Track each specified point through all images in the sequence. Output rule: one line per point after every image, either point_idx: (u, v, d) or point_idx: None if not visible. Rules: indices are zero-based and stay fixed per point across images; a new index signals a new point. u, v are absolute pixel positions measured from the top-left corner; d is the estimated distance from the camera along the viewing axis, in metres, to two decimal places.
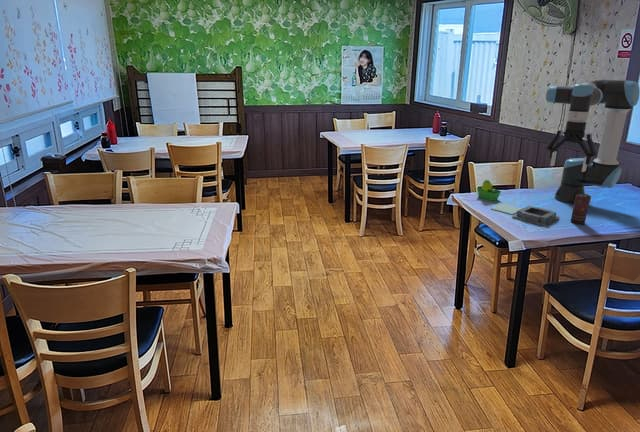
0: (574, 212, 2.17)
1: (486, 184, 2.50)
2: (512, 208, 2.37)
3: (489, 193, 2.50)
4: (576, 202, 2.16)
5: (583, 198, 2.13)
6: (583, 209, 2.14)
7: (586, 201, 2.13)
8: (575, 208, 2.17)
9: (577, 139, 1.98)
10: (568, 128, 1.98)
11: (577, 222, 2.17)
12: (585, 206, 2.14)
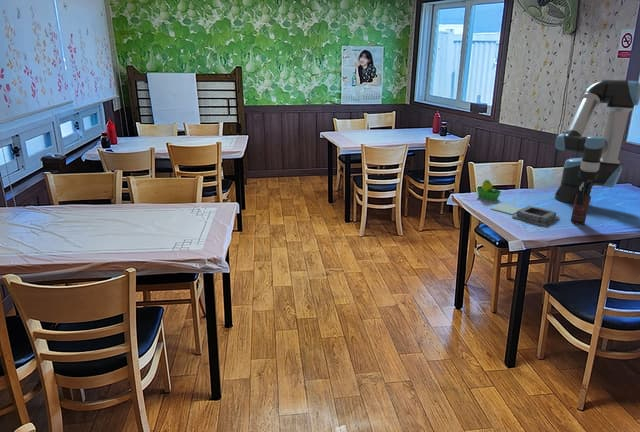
0: (574, 212, 2.17)
1: (486, 184, 2.50)
2: (512, 208, 2.37)
3: (489, 193, 2.50)
4: None
5: (583, 198, 2.13)
6: (583, 209, 2.14)
7: (586, 201, 2.13)
8: (575, 208, 2.17)
9: None
10: None
11: (577, 222, 2.17)
12: (585, 206, 2.14)
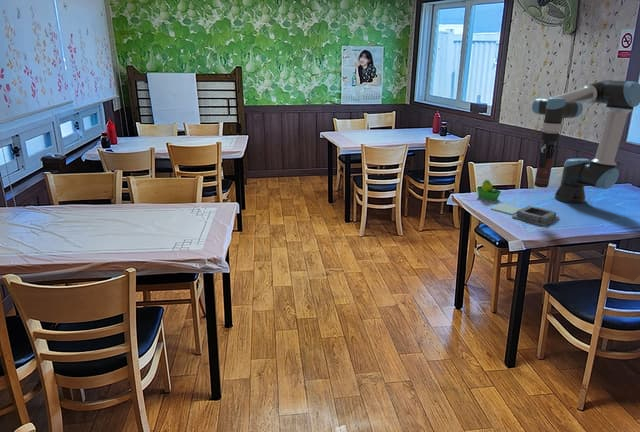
0: (537, 175, 2.17)
1: (486, 184, 2.50)
2: (512, 208, 2.37)
3: (489, 193, 2.50)
4: None
5: None
6: (546, 172, 2.14)
7: (548, 163, 2.13)
8: (538, 171, 2.16)
9: None
10: None
11: (540, 185, 2.17)
12: (547, 169, 2.13)
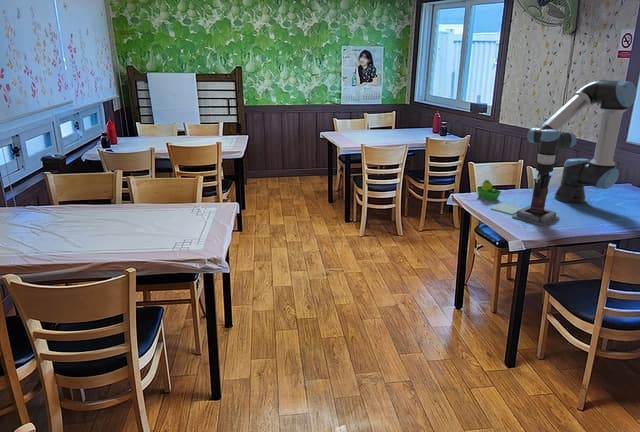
0: (532, 204, 2.22)
1: (486, 184, 2.50)
2: (512, 208, 2.37)
3: (489, 193, 2.50)
4: None
5: (540, 190, 2.17)
6: (540, 201, 2.19)
7: (543, 193, 2.17)
8: (533, 200, 2.21)
9: None
10: None
11: None
12: (542, 198, 2.18)
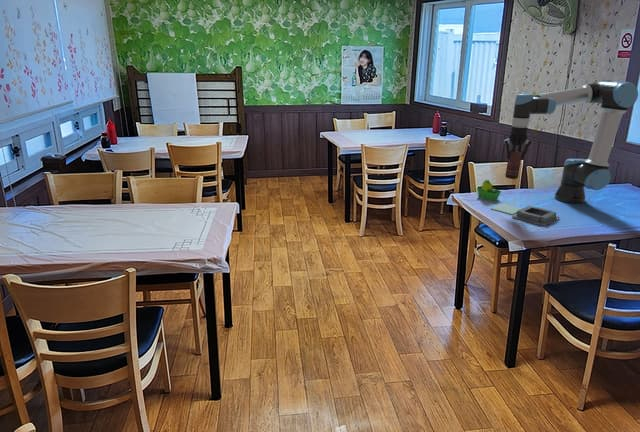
0: None
1: (486, 184, 2.50)
2: (512, 208, 2.37)
3: (489, 193, 2.50)
4: None
5: (510, 152, 2.27)
6: (510, 163, 2.28)
7: (512, 156, 2.26)
8: None
9: None
10: None
11: (506, 175, 2.31)
12: (511, 160, 2.27)
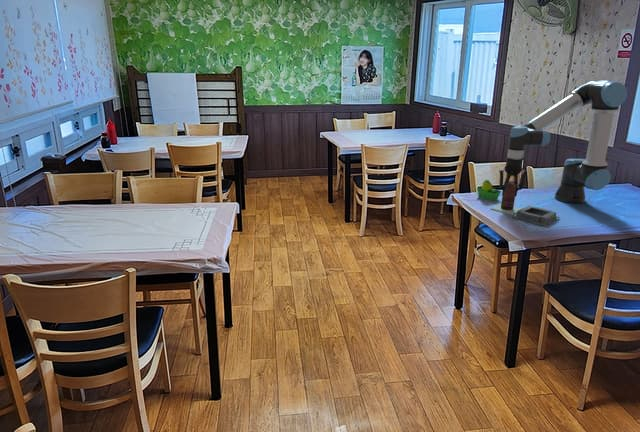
0: None
1: (486, 184, 2.50)
2: None
3: (489, 193, 2.50)
4: None
5: None
6: (505, 195, 2.33)
7: (507, 188, 2.31)
8: None
9: None
10: None
11: (501, 206, 2.37)
12: (506, 192, 2.32)
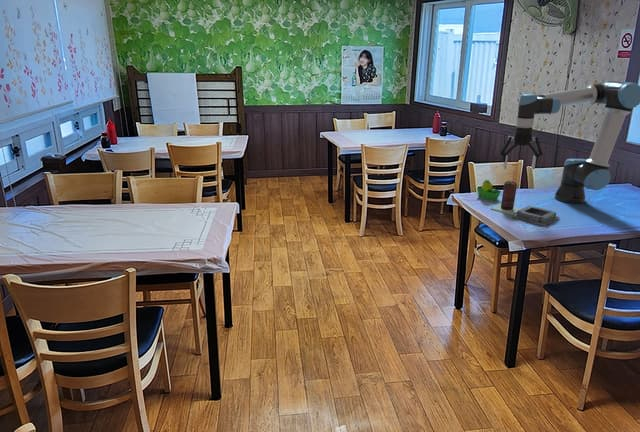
0: None
1: (486, 184, 2.50)
2: None
3: (489, 193, 2.50)
4: None
5: (505, 184, 2.32)
6: (505, 195, 2.33)
7: (507, 188, 2.31)
8: None
9: None
10: None
11: (501, 206, 2.37)
12: (506, 192, 2.32)
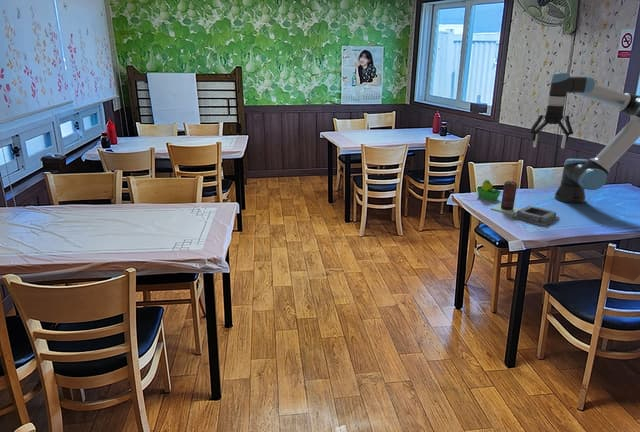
0: None
1: (486, 184, 2.50)
2: None
3: (489, 193, 2.50)
4: None
5: (505, 184, 2.32)
6: (505, 195, 2.33)
7: (507, 188, 2.31)
8: None
9: None
10: None
11: (501, 206, 2.37)
12: (506, 192, 2.32)
